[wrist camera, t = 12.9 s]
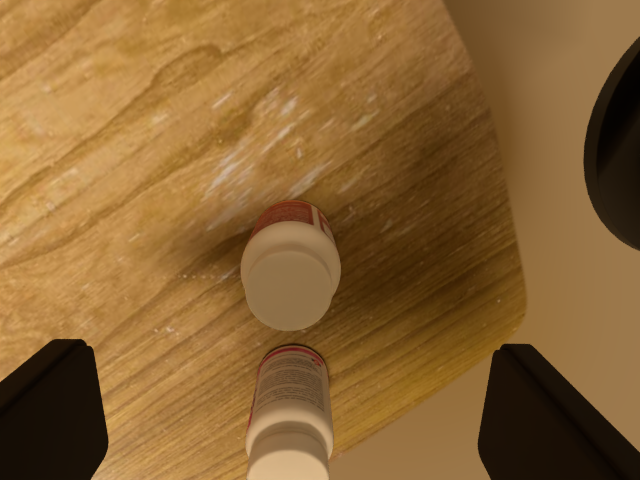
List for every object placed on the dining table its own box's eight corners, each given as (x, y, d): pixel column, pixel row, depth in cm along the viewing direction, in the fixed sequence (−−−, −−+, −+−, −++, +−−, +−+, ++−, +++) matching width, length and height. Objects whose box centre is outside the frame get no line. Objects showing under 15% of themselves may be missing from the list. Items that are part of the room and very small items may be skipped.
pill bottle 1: (241, 249, 23) (208, 312, 15) (278, 183, 22) (264, 214, 14) (307, 284, 24) (308, 362, 16) (346, 223, 23) (368, 273, 15)
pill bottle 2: (245, 360, 26) (218, 467, 18) (309, 332, 25) (311, 427, 17) (277, 412, 27) (266, 534, 19) (338, 386, 27) (353, 499, 18)
